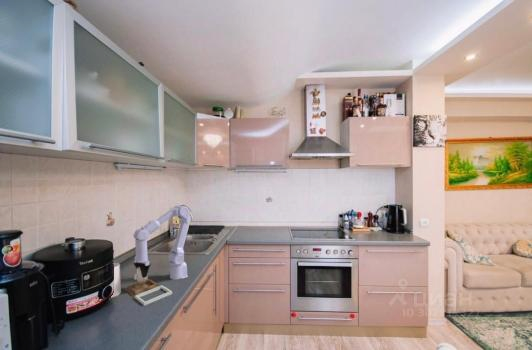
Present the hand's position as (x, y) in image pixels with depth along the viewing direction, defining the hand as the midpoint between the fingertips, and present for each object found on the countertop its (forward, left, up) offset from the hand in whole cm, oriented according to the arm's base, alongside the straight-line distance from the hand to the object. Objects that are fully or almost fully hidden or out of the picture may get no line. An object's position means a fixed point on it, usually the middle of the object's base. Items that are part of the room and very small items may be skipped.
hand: (142, 275), depth 130 cm
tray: (0, +13, -8) cm, 16 cm away
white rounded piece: (0, 0, -2) cm, 2 cm away
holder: (0, 0, -8) cm, 8 cm away
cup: (+13, -7, -8) cm, 17 cm away
